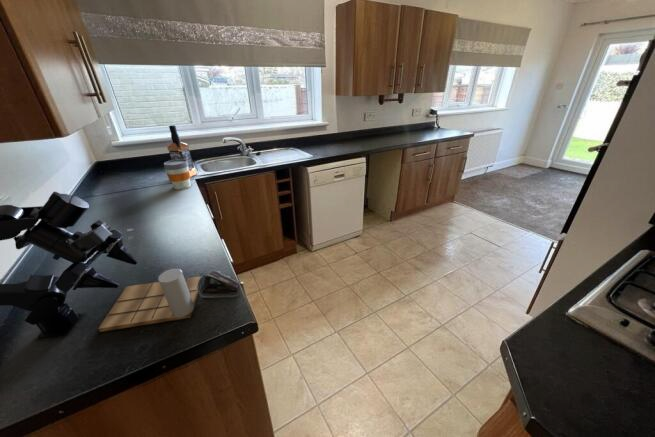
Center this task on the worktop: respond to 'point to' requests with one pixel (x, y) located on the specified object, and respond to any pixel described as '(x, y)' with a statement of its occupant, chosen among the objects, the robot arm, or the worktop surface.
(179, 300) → the white plastic cylinder
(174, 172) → the reusable coffee cup
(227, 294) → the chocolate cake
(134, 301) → the board
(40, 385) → the worktop surface
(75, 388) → the worktop surface
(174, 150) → the whiskey bottle
